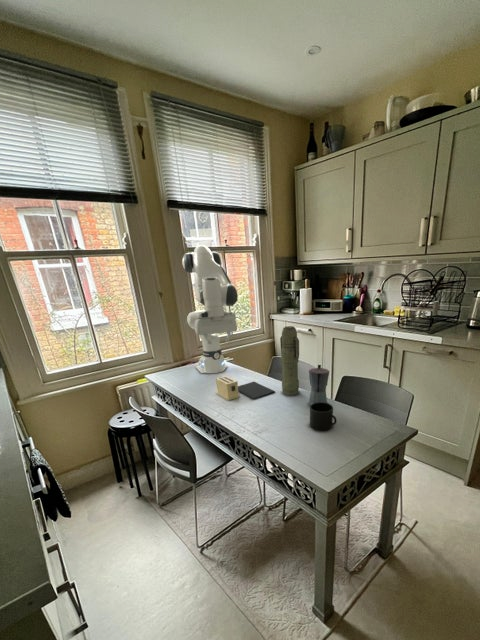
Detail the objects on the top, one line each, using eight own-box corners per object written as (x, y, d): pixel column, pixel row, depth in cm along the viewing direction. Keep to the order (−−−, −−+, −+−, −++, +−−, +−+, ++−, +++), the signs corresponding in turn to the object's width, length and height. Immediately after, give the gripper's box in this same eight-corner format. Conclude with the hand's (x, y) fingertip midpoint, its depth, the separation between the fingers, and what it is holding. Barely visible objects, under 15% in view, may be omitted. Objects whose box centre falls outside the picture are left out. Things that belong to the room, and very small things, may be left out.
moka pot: (327, 398, 160) (328, 360, 152) (329, 412, 146) (331, 371, 138) (308, 398, 161) (308, 360, 153) (308, 412, 147) (309, 371, 139)
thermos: (287, 387, 176) (285, 324, 162) (304, 392, 169) (304, 326, 154) (276, 392, 170) (274, 327, 156) (294, 398, 163) (293, 330, 148)
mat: (233, 389, 178) (233, 387, 178) (253, 382, 185) (253, 381, 185) (253, 399, 163) (253, 398, 163) (274, 392, 171) (274, 391, 170)
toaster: (217, 393, 173) (215, 378, 169) (227, 390, 176) (226, 375, 172) (229, 401, 163) (228, 384, 159) (240, 397, 166) (238, 381, 162)
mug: (329, 436, 127) (330, 416, 123) (305, 427, 134) (305, 408, 131) (341, 426, 133) (342, 407, 129) (318, 418, 141) (318, 400, 137)
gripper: (232, 311, 156) (235, 340, 160) (192, 315, 147) (196, 344, 151) (237, 311, 151) (240, 340, 154) (195, 314, 142) (199, 345, 145)
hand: (218, 342), depth 153 cm, fingers open, 8 cm apart
